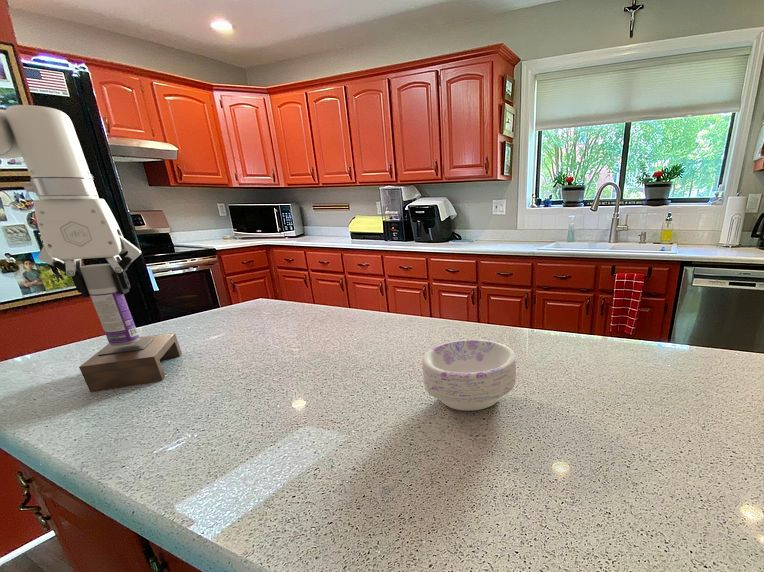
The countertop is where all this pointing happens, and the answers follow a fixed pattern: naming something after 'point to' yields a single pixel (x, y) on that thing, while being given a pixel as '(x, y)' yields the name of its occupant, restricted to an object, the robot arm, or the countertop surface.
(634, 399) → the countertop surface
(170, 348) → the shelf
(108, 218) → the robot arm
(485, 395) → the paper bowls
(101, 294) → the container
